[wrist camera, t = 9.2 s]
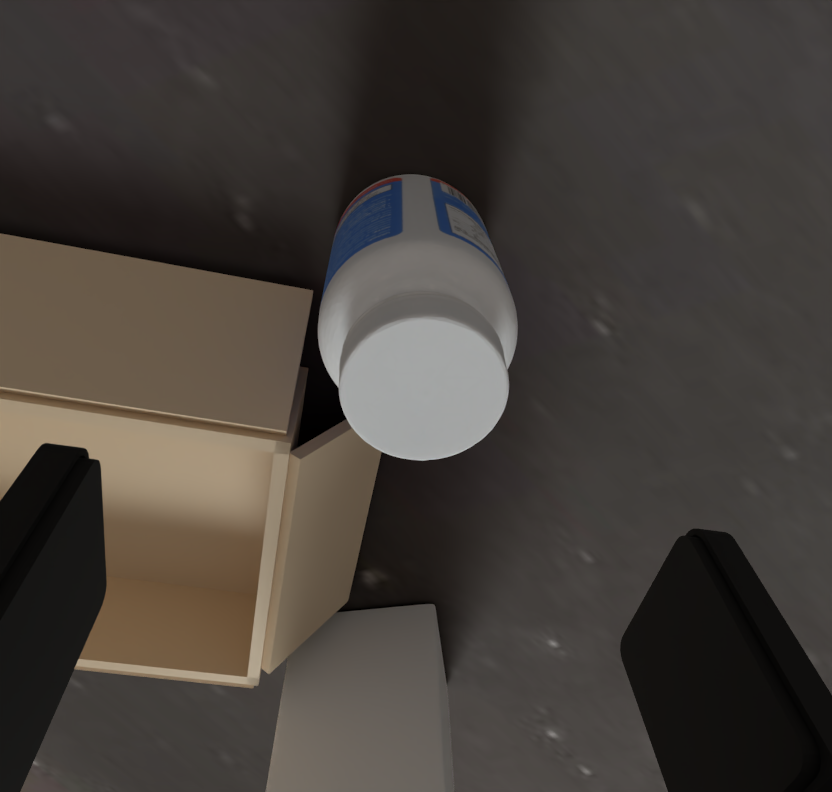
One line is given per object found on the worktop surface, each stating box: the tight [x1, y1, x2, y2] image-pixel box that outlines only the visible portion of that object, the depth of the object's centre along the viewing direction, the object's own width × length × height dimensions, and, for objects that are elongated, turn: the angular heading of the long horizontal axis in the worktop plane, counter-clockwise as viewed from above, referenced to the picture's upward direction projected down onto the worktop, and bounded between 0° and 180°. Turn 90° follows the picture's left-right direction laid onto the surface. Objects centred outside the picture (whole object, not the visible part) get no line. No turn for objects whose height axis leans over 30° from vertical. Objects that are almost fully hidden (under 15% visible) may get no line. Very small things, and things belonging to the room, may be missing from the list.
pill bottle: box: [318, 174, 518, 461], centre depth 20 cm, size 6×5×10 cm
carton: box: [0, 233, 382, 688], centre depth 27 cm, size 20×20×5 cm
